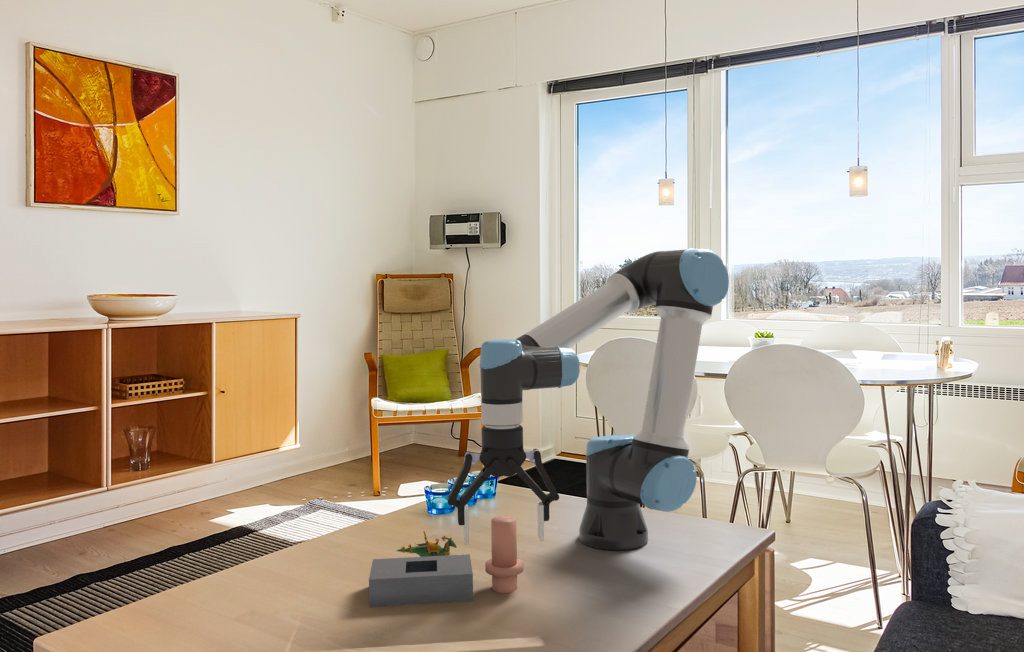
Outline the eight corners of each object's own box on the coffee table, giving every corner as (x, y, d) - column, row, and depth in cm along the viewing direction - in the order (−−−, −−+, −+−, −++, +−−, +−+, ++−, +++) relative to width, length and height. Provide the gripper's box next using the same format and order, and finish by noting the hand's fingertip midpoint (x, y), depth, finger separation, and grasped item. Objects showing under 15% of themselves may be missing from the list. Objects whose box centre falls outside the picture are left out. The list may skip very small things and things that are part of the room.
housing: (470, 585, 144) (469, 554, 144) (473, 607, 134) (472, 573, 134) (373, 590, 142) (373, 559, 142) (369, 613, 132) (368, 579, 132)
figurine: (458, 571, 152) (457, 530, 151) (397, 577, 149) (396, 535, 149) (455, 565, 155) (455, 526, 154) (396, 571, 152) (395, 531, 152)
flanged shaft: (521, 585, 144) (520, 513, 143) (526, 600, 137) (525, 525, 136) (484, 588, 143) (483, 515, 142) (487, 603, 136) (486, 526, 136)
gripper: (566, 419, 144) (567, 530, 145) (432, 423, 141) (435, 537, 142) (573, 426, 136) (575, 543, 137) (433, 431, 133) (435, 550, 134)
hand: (504, 540), depth 140 cm, fingers open, 13 cm apart
